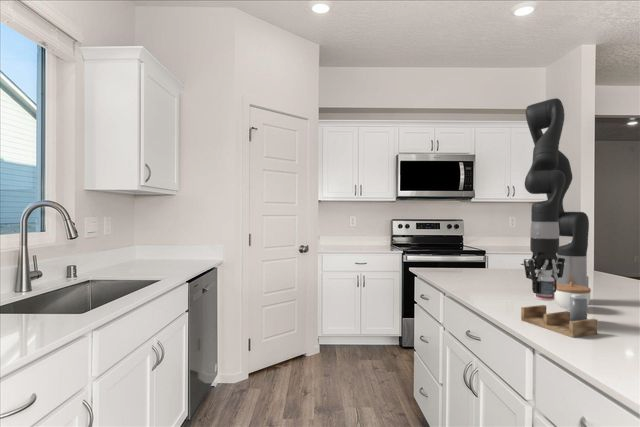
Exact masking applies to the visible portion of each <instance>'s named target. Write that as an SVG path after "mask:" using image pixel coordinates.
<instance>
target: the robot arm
mask: <svg viewBox="0 0 640 427" xmlns="http://www.w3.org/2000/svg"><path fill="white" fill-rule="evenodd" d="M525 118H526V124H527V126H528V129H529V133H530V136H531V139H532V142H533V144H534V147H533V149H532V164H531V166H530V168H529V170H528V172H527V173H526V175H525V179H524V188H525V190H526V191H527V192H528V193H529V194H532V195H544V194H545V195H546V198H547V199H546V200H543V201H537V202H536V201H535V202H534V203H533V204H532V205H531V210H530V211H531V214H530V215H531V216H530V218H531V222H530V235H529V238H530V240H529V241H530V243H529V244H530V245H529V246H530V252H531V253H532V256H531V258H529V259H527V258H524V259H523V267H524V272H525V278H526V279H529V280H531V282H532V283H531V285H532V286H531V288H532V289H531V290H532V292H533V294H534V293H536V294H540V293H541V282H540V280H541V277H542V275H543V274H544V272H545V270H552V275H551V277H553V278H554V281H555V284H554V292H556V289H557V284H570V282H573V284H574V285H581V286H586V287H589V276H588V274H587V273H588V272H587V271H588V270H587V269H588V267H587V266H588V265H587V264H588V263H587V262H588V260H587V258H588V257H587V255H588V247H589V230H590V223H589V222H590V220H589V217H588V214H587V213H586V212H583V211H565V209H564V203H563V202H564V198H565V196H566V194H567V192H568V190H569V188H570V186H571V185H572V184H571V183H572V181H573V172H572V167H571V163H570V160H569V158H568V156H566V155H565V153H563V152H562V151H561V150H560V149H559V148H560V147H559V146H560V141H561V137H562V132H563V127H564V123H565V109H564V105H563V102H562V101H561V99H559V98H557V97H555V98H549V99H546V100H544V101H539V102H536V103H532V104H530V105H527V106H526V108H525ZM544 129H546V130H545V131H544V133H543V131H542V130H544ZM560 237H572V240H571V241H570V242H569V243H567V244H564V245H560ZM537 269H538V270H537ZM536 276H537V277H536Z"/></svg>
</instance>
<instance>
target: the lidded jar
mask: <svg viewBox="0 0 640 427" xmlns="http://www.w3.org/2000/svg"><path fill="white" fill-rule="evenodd" d="M591 292H592V289H591V288H590V287H589V286H588V287H586V286H581V285H574V284H573V282H570V284H557V289H556V292H554V301H555V302H556V304H557V306H559V307H560V309H561V310H562V311H568V312H570V297H571V294H581V295H585V296H586V299H587V306H588V305H589V303H590V301H591V300H590V299H591Z"/></svg>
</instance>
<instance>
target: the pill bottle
mask: <svg viewBox="0 0 640 427" xmlns="http://www.w3.org/2000/svg"><path fill="white" fill-rule="evenodd" d="M537 270H538V269H537ZM551 275H552V270H545V272H544V274H543V275H542V277H541V280H540V282H541V293H540V294H536V293H533V294H534V295H533V296H534V299H537V300H540V301H545V302H546V301H548V302H549V301H555V298H554V284H555V281H554V278H553V277H551ZM536 277H537V275H536Z"/></svg>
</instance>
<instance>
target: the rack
mask: <svg viewBox="0 0 640 427" xmlns="http://www.w3.org/2000/svg"><path fill="white" fill-rule="evenodd" d="M520 310H521V312H520V318H521V321H522V322H526V323H528V324H532V325H535V326H537V327H541V328H543V329H546V330H549V331H552V332H555V333H559V334H561V335H564V336H567V337H570V338H578V337H585V336H593V335H598V319H596V318H589V319H588V318H587V319H586V320H578V321H570V311H567V310H564V311H557V312H548V313H547V305H546V304H541V305H540V304H539V305H529V306H522V307H521V308H520Z"/></svg>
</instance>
